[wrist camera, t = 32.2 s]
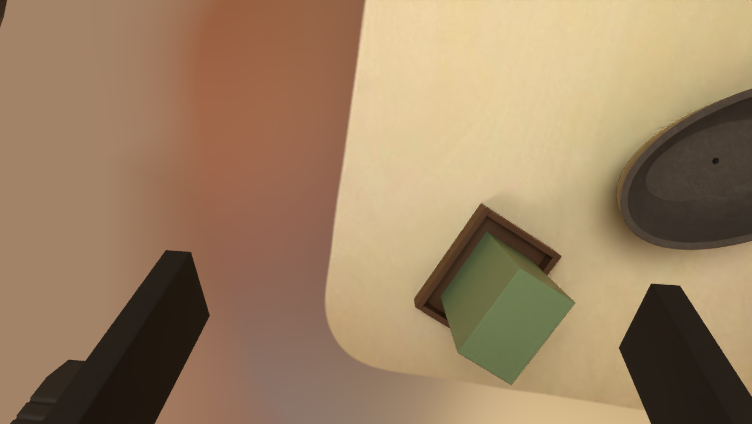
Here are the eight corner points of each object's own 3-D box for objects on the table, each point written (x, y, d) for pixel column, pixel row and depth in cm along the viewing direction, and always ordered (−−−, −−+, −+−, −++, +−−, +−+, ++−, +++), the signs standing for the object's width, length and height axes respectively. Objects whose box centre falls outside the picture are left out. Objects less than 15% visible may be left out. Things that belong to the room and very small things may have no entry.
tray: (413, 299, 45) (415, 307, 43) (480, 203, 43) (485, 207, 41) (484, 342, 46) (489, 352, 44) (554, 250, 44) (561, 256, 42)
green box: (440, 296, 45) (457, 352, 34) (486, 230, 43) (520, 267, 33) (481, 322, 45) (511, 385, 34) (529, 257, 44) (575, 303, 33)
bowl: (835, 178, 42) (911, 188, 36) (604, 256, 44) (639, 278, 38) (812, 51, 40) (888, 38, 34) (570, 139, 42) (602, 142, 36)
